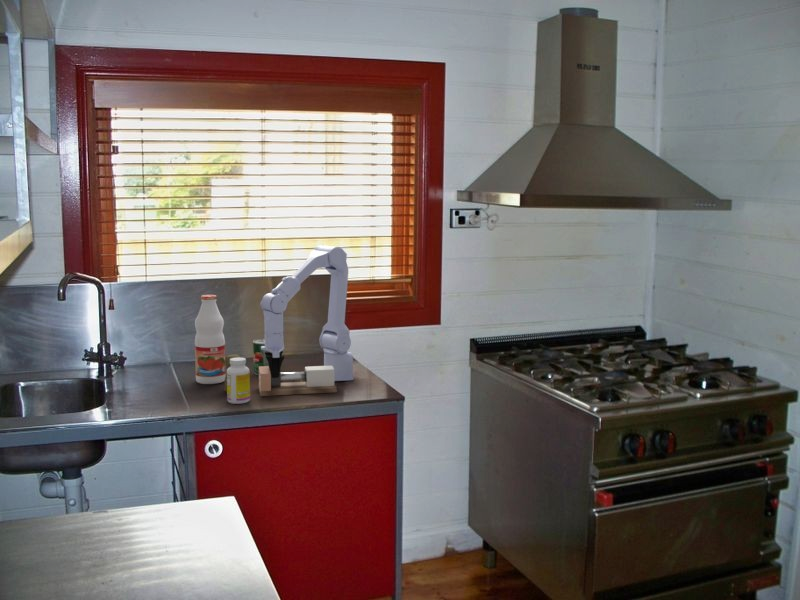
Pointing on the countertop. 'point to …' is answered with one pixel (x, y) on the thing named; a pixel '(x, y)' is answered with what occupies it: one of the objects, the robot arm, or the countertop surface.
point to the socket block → (264, 378)
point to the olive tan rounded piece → (227, 362)
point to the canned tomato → (259, 355)
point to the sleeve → (319, 376)
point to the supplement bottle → (238, 381)
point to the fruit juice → (209, 343)
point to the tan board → (297, 389)
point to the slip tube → (289, 378)
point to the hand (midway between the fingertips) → (274, 375)
